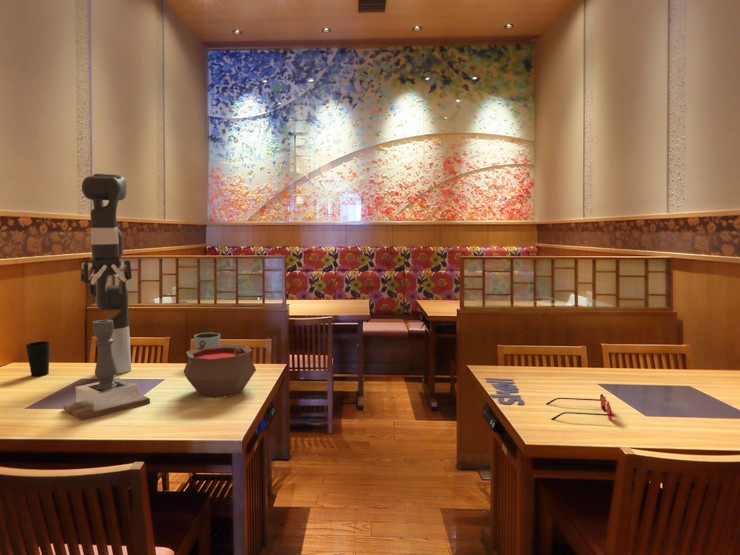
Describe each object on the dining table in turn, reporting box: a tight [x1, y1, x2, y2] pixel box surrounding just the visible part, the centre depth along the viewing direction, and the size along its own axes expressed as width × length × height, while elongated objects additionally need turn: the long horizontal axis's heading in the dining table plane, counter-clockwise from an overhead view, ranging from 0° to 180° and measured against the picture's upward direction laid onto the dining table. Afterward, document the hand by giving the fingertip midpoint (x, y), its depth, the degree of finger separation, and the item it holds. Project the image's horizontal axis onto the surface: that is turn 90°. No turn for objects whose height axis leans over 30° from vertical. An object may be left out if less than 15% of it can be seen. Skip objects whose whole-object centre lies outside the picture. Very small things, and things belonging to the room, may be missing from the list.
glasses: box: [545, 393, 616, 421], centre depth 154 cm, size 14×16×5 cm
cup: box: [25, 341, 51, 378], centre depth 203 cm, size 8×8×12 cm
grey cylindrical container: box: [193, 332, 221, 349], centre depth 216 cm, size 10×10×12 cm
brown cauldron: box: [183, 339, 257, 399], centre depth 179 cm, size 24×24×16 cm
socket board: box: [62, 393, 151, 421], centre depth 165 cm, size 14×20×2 cm
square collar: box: [74, 377, 139, 412], centre depth 165 cm, size 13×13×5 cm
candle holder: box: [92, 319, 118, 391], centre depth 164 cm, size 6×6×25 cm
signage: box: [484, 377, 525, 406], centre depth 176 cm, size 28×1×10 cm
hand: (107, 295), depth 166 cm, fingers open, 8 cm apart
